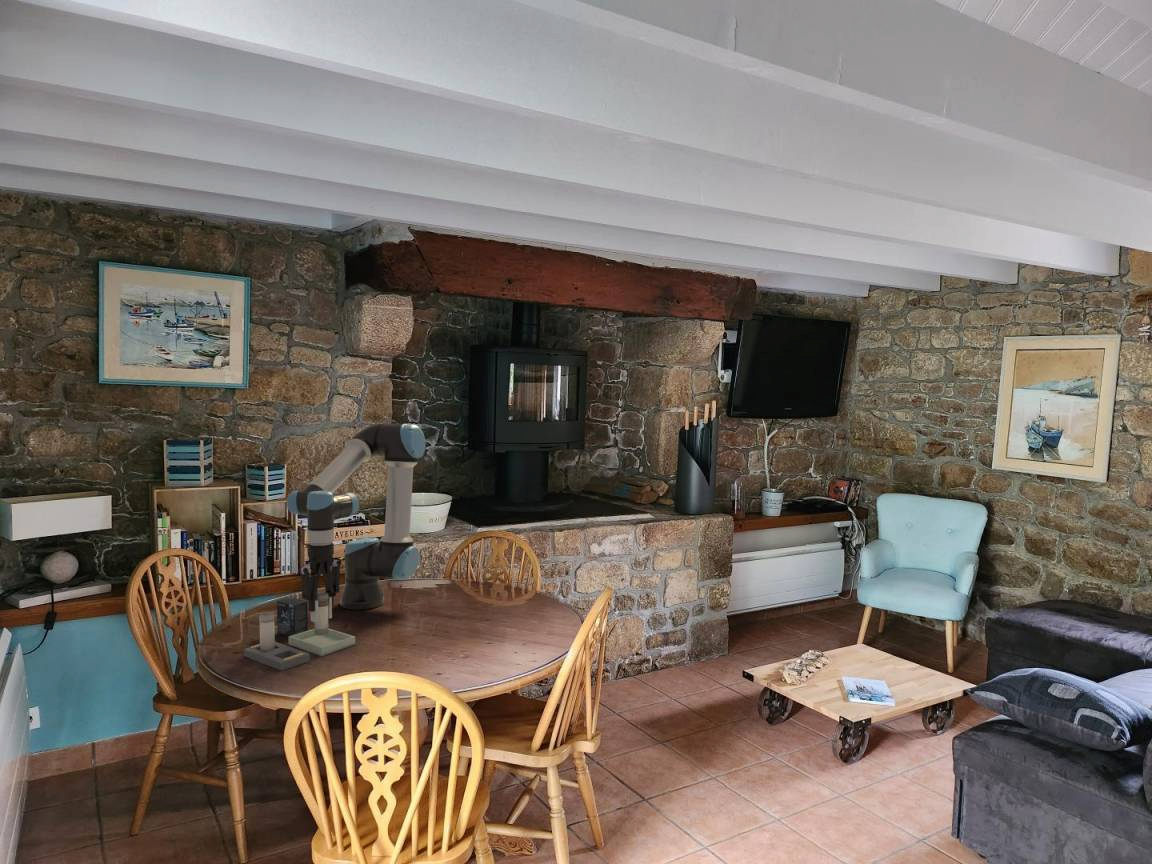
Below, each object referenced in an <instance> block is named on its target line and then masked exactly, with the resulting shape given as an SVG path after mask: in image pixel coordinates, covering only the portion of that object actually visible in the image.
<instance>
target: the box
mask: <svg viewBox="0 0 1152 864" xmlns="http://www.w3.org/2000/svg"><path fill="white" fill-rule="evenodd" d="M308 615H309V602H308V600H305V599H302V598H296V597H292V596H289V597H286V598H282V599H279V600H277V601H276V621H277V622H276V624H277V625H276V627H277V628H276V629H277V632H276V633H277V634H280V635H284V636H287V637H289V636H292V635H295V634H299V633H302V632H305V631H308V630H309V625H308V623H309V622H308V621H309V620H308V619H309V617H308Z"/></svg>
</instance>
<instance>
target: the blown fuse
mask: <svg viewBox="0 0 1152 864" xmlns="http://www.w3.org/2000/svg"><path fill="white" fill-rule="evenodd" d="M316 600H318V622H317V623H316V622H313V625H314V627H313V629H314V634H315V635H324V634H327V633H329V629H330V626H329V618H328V592H326V591H317V595H316Z"/></svg>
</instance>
